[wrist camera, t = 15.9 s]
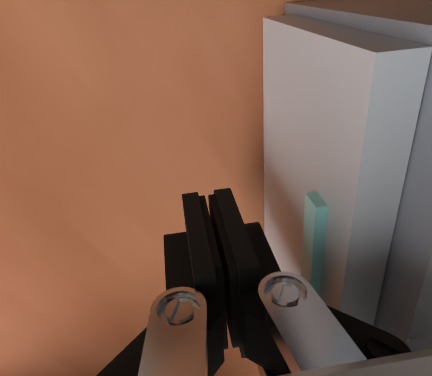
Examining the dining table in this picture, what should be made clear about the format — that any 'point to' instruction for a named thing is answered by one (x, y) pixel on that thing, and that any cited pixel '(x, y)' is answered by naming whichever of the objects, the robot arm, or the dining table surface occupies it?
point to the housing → (416, 170)
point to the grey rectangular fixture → (337, 152)
